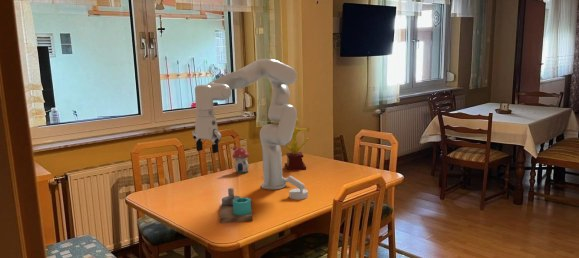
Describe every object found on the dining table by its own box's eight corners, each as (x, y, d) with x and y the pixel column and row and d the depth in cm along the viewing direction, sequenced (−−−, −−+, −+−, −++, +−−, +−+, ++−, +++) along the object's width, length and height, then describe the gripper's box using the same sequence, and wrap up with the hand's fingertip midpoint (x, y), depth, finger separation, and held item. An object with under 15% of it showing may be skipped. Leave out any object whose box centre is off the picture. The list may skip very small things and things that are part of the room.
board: (251, 202, 203) (250, 184, 202) (252, 220, 181) (251, 200, 179) (222, 204, 202) (221, 185, 201) (220, 222, 180) (218, 202, 178)
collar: (250, 208, 189) (250, 196, 188) (251, 214, 182) (250, 202, 181) (233, 209, 189) (233, 198, 188) (233, 215, 182) (232, 203, 181)
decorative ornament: (232, 173, 253) (230, 147, 251) (236, 170, 259) (234, 145, 257) (247, 174, 251) (246, 147, 248) (251, 170, 257) (250, 145, 254)
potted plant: (276, 169, 259) (274, 117, 254) (292, 163, 271) (291, 114, 266) (295, 172, 250) (293, 119, 245) (312, 166, 262) (310, 115, 257)
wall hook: (292, 173, 214) (310, 175, 209) (293, 192, 215) (311, 195, 210) (282, 177, 207) (301, 180, 201) (283, 197, 208) (301, 200, 203)
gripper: (225, 113, 194) (227, 151, 197) (197, 111, 204) (199, 148, 206) (213, 115, 188) (215, 155, 191) (185, 113, 198) (187, 151, 200)
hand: (207, 151), depth 198 cm, fingers open, 9 cm apart
